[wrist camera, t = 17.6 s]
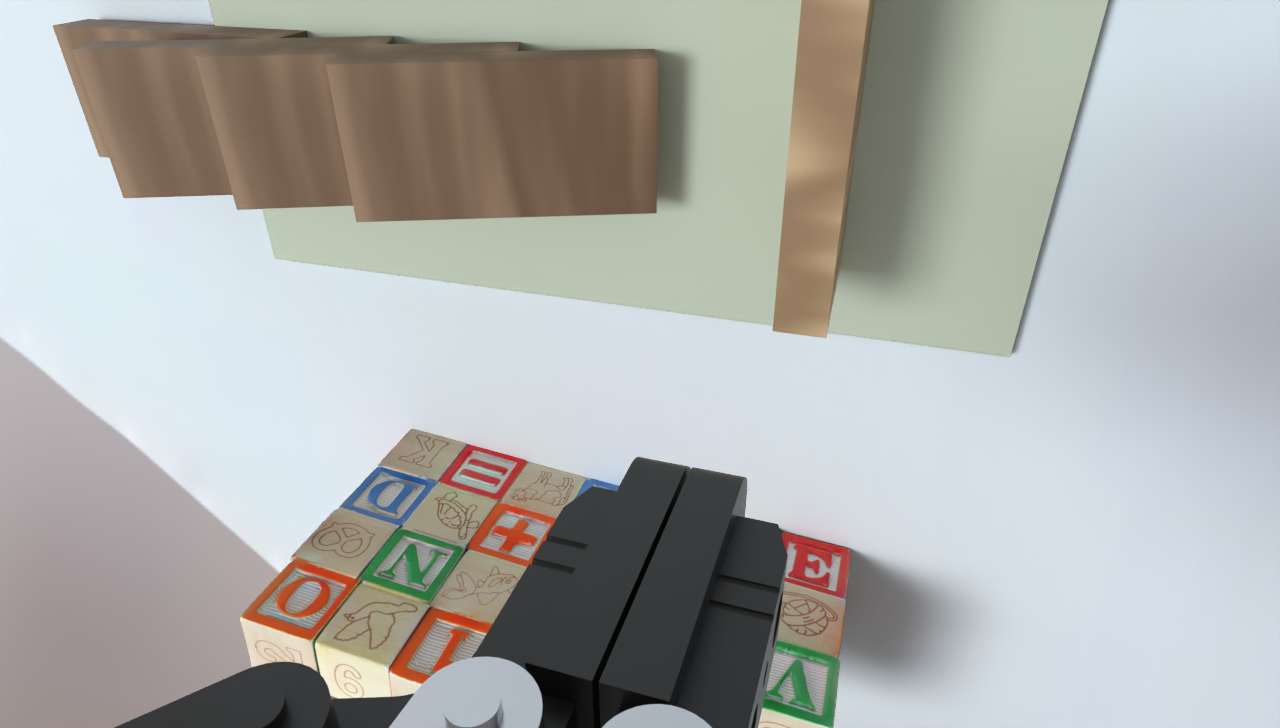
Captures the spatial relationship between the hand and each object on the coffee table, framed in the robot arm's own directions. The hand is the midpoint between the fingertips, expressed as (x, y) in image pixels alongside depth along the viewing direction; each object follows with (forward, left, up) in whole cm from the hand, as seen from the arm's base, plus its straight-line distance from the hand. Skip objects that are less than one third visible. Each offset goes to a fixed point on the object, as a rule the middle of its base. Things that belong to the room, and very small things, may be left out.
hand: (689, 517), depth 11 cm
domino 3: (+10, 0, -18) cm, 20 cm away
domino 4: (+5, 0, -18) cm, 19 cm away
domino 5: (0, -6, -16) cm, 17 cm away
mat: (+8, -1, -19) cm, 21 cm away
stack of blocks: (+8, +19, -19) cm, 28 cm away
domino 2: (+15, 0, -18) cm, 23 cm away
